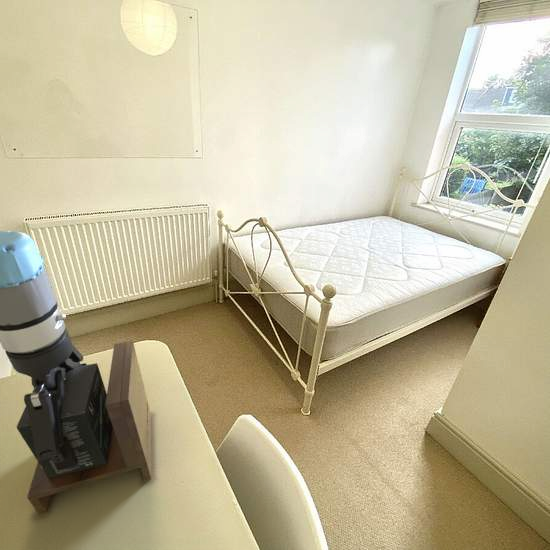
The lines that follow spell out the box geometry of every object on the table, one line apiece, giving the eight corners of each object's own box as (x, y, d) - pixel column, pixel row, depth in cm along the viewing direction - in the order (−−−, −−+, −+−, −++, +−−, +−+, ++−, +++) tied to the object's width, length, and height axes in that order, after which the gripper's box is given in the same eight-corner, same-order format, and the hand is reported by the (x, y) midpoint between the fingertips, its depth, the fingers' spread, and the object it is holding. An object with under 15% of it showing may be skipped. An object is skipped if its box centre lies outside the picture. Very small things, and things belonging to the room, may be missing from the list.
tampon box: (63, 424, 61) (38, 371, 53) (115, 413, 63) (97, 361, 56) (45, 482, 51) (12, 427, 44) (106, 466, 54) (85, 411, 47)
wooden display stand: (39, 515, 52) (-18, 433, 41) (59, 440, 64) (19, 360, 53) (151, 480, 58) (128, 399, 47) (151, 417, 69) (132, 340, 58)
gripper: (42, 400, 36) (88, 494, 46) (81, 289, 56) (107, 372, 66) (-39, 417, 33) (29, 513, 44) (32, 295, 54) (67, 380, 64)
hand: (76, 428), depth 55 cm, fingers open, 13 cm apart
